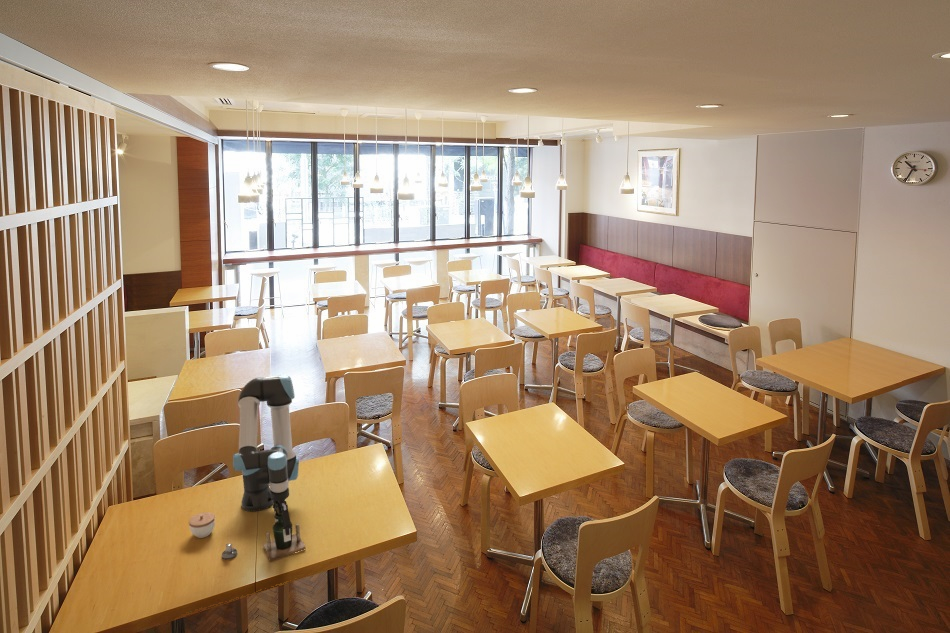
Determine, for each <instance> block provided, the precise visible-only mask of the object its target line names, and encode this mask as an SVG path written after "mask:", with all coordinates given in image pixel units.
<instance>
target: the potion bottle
mask: <svg viewBox="0 0 950 633" xmlns="http://www.w3.org/2000/svg"><path fill="white" fill-rule="evenodd" d="M276 510H277V512H276V513H275V512H274V520H275V519H278V521H277V522H276V523H275V522H274V523H273V525H272V532H273V537H274V540H275V543H276V547H277V548H278V549H281V550H283V549H287V548H289V547H290V546H291V545H292V535H293V523H292V522H291V528H290V534H291V540H290V541H287V542H284V534H283V530H282V528H284V527H283V522H282V518H281V514H280V513H279V511H278V508H277V509H276ZM280 511H282V510H280Z"/></svg>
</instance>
